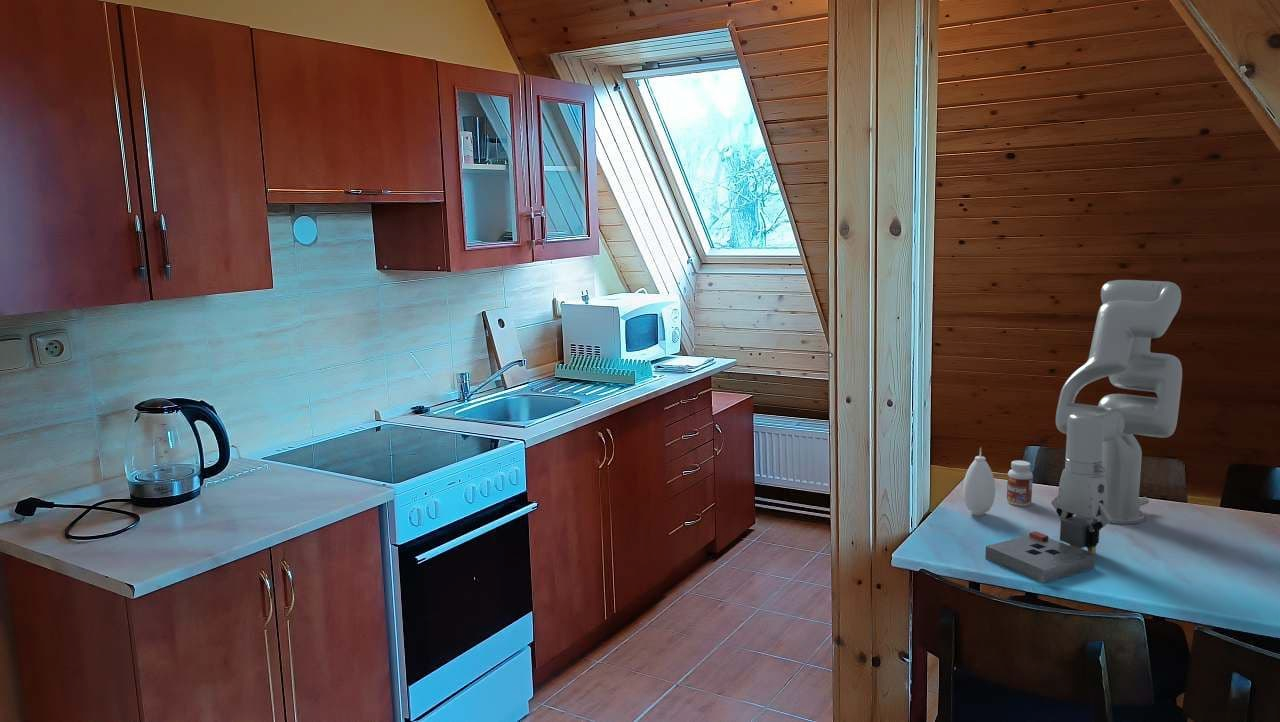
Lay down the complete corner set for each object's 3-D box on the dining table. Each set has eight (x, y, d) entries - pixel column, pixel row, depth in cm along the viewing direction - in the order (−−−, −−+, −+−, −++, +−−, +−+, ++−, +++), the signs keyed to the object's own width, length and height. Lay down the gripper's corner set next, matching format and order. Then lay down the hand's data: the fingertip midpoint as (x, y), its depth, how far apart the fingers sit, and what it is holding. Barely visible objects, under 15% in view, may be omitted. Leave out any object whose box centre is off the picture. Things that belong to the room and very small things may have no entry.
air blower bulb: (961, 508, 245) (963, 442, 242) (992, 510, 243) (995, 443, 240) (963, 518, 238) (965, 450, 235) (995, 520, 236) (998, 452, 233)
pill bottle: (1003, 503, 248) (1004, 463, 246) (1010, 497, 253) (1012, 458, 251) (1027, 508, 244) (1029, 467, 242) (1034, 501, 249) (1036, 461, 247)
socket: (1034, 545, 219) (1035, 529, 218) (1094, 568, 205) (1095, 551, 204) (985, 558, 212) (985, 542, 211) (1043, 583, 198) (1044, 566, 197)
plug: (1076, 545, 218) (1078, 515, 217) (1098, 553, 213) (1099, 522, 212) (1059, 550, 215) (1060, 519, 214) (1080, 558, 210) (1082, 527, 209)
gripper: (1128, 473, 205) (1123, 551, 208) (1062, 455, 220) (1058, 528, 223) (1106, 478, 201) (1101, 557, 204) (1040, 460, 216) (1036, 533, 220)
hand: (1079, 541), depth 214 cm, fingers closed on plug, 5 cm apart
